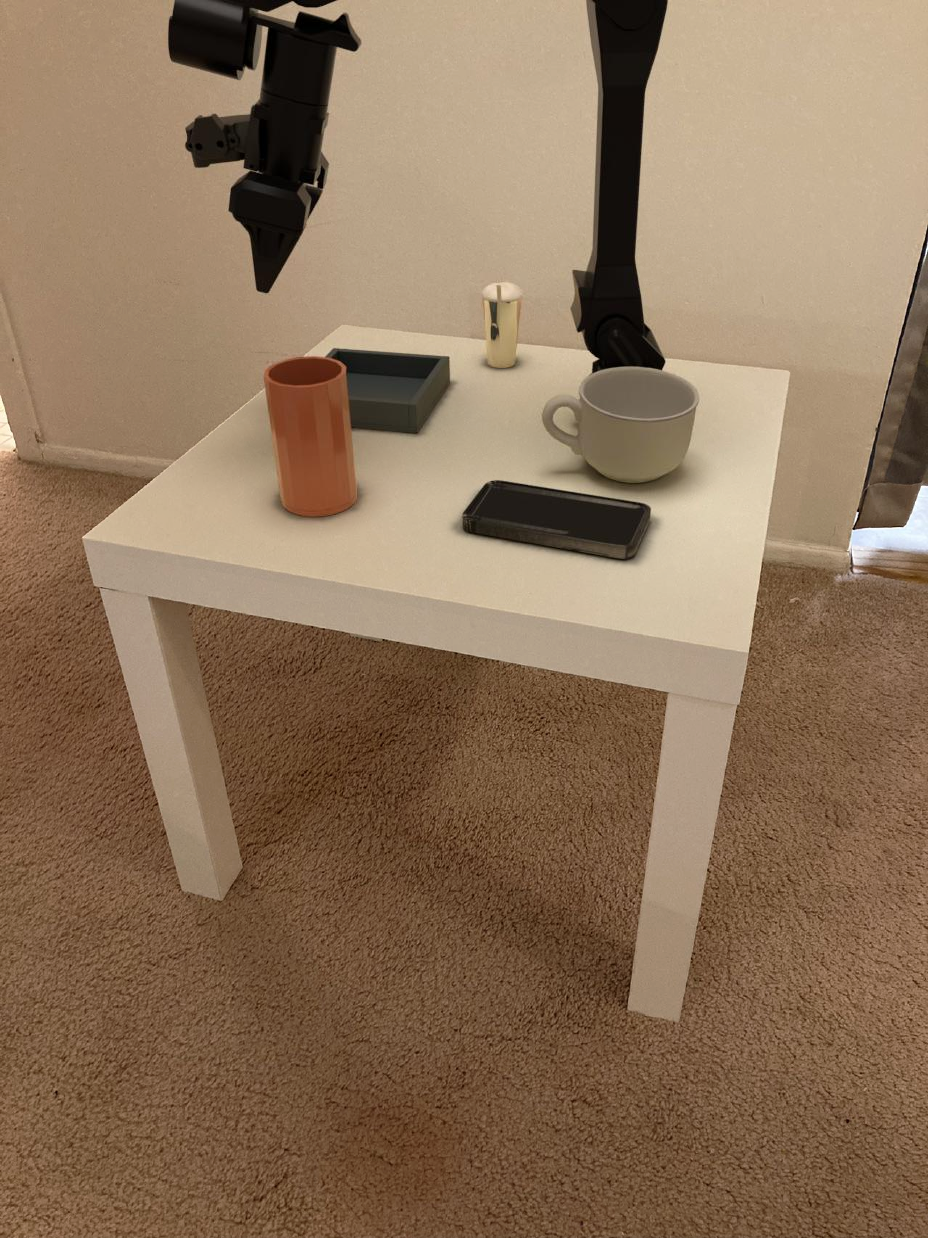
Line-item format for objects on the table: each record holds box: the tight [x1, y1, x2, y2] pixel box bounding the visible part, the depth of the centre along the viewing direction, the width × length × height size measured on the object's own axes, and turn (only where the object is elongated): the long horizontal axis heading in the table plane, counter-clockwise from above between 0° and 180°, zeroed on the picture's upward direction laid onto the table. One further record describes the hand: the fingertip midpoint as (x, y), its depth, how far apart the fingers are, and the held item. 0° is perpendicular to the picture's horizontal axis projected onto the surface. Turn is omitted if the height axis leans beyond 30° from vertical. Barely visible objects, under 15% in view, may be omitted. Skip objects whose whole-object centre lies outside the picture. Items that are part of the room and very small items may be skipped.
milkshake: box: [481, 281, 523, 369], centre depth 112 cm, size 4×5×10 cm
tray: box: [324, 347, 451, 434], centre depth 106 cm, size 14×14×3 cm
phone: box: [462, 479, 652, 560], centre depth 84 cm, size 8×1×15 cm
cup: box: [263, 355, 358, 518], centre depth 86 cm, size 7×7×12 cm
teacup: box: [541, 366, 700, 484], centre depth 91 cm, size 14×11×8 cm
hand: (270, 276), depth 93 cm, fingers open, 9 cm apart
